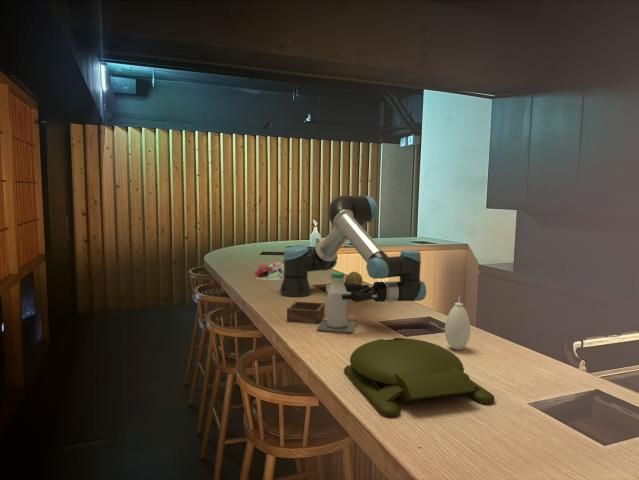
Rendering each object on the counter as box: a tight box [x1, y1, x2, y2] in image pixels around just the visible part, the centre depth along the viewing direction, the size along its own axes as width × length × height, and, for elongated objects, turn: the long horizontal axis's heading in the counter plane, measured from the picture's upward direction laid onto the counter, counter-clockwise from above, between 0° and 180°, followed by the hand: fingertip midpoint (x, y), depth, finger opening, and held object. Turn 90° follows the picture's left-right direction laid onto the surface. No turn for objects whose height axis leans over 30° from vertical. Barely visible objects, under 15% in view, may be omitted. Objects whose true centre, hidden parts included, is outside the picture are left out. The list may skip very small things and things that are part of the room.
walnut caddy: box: [286, 300, 326, 325], centre depth 183 cm, size 12×12×5 cm
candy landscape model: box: [253, 260, 284, 282], centre depth 269 cm, size 25×24×9 cm
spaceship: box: [343, 337, 495, 418], centre depth 124 cm, size 35×31×10 cm
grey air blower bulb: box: [444, 295, 471, 351], centre depth 150 cm, size 8×8×18 cm
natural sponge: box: [344, 271, 363, 285], centre depth 235 cm, size 9×9×10 cm
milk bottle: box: [326, 271, 349, 328], centre depth 171 cm, size 8×8×20 cm
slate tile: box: [316, 319, 357, 335], centre depth 172 cm, size 13×13×1 cm
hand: (329, 292), depth 170 cm, fingers open, 13 cm apart
